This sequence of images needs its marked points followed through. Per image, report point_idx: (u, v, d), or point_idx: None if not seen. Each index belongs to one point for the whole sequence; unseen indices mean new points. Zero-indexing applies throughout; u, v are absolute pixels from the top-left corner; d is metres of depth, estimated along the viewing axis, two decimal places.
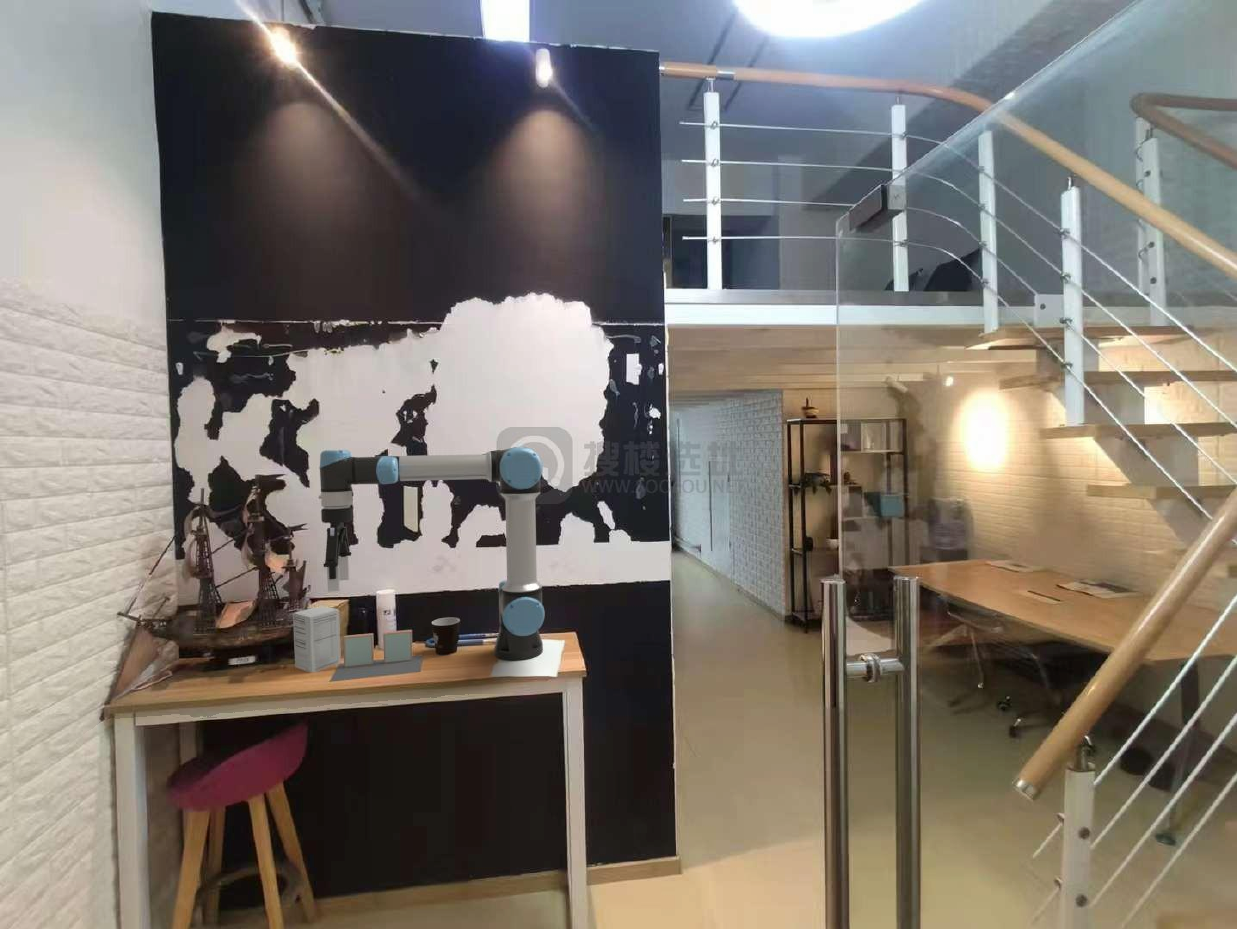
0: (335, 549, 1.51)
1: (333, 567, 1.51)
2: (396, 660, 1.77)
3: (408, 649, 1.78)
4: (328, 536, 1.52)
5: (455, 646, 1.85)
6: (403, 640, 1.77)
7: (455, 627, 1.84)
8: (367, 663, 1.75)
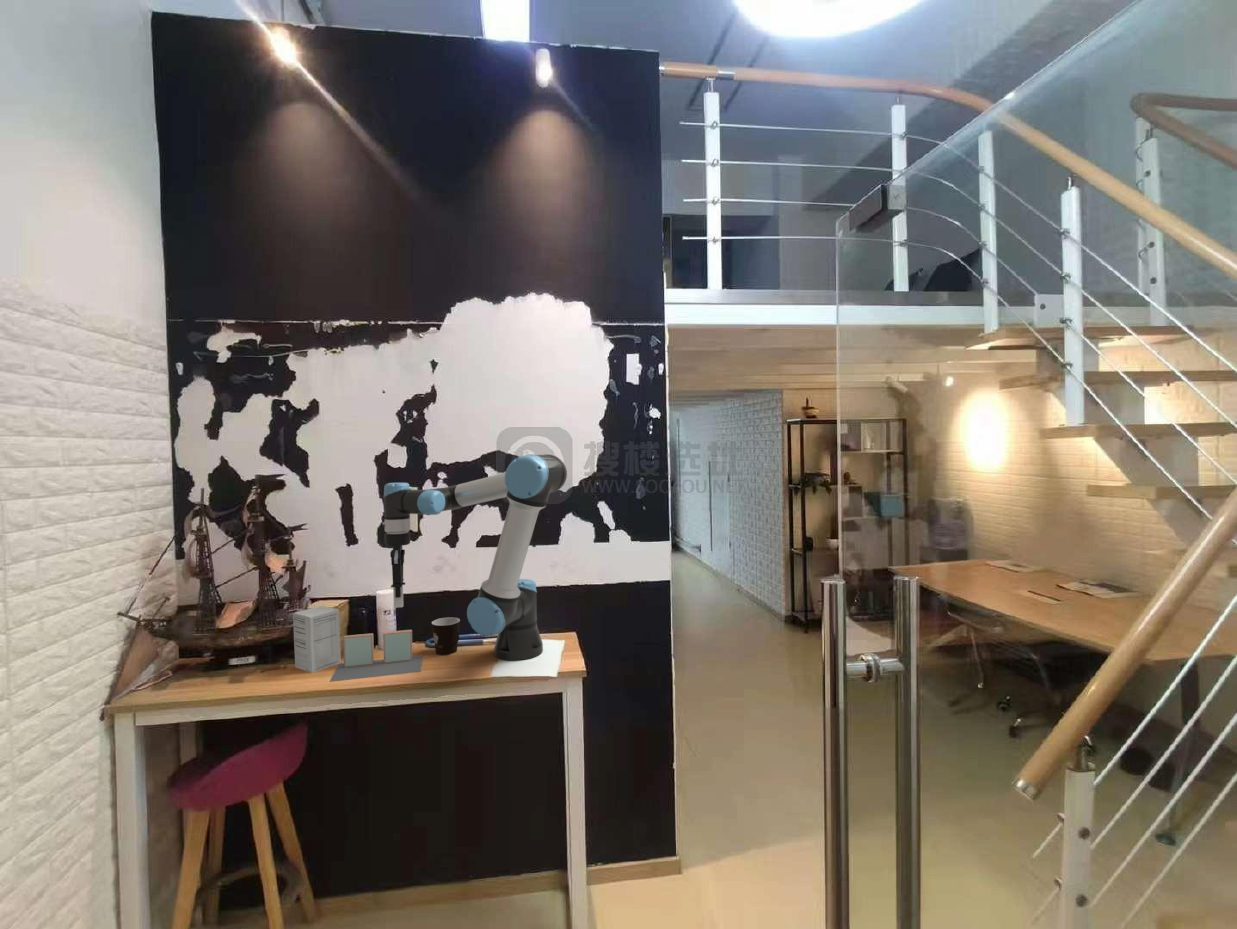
0: (400, 574, 1.80)
1: (398, 587, 1.82)
2: (396, 660, 1.77)
3: (408, 649, 1.78)
4: (392, 564, 1.78)
5: (455, 646, 1.85)
6: (403, 640, 1.77)
7: (455, 627, 1.84)
8: (367, 663, 1.75)
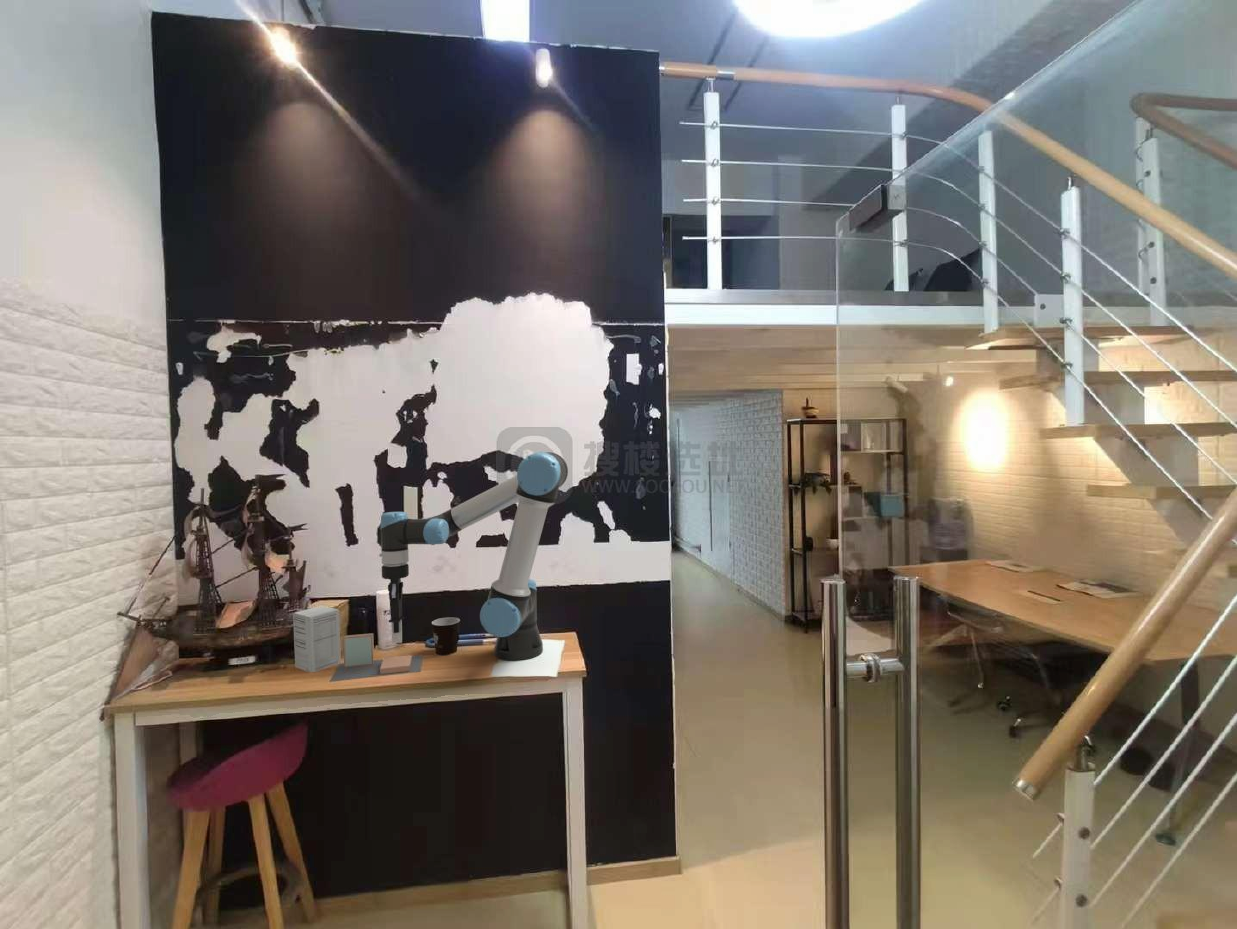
0: (398, 609, 1.71)
1: (397, 622, 1.73)
2: None
3: None
4: (390, 599, 1.70)
5: (455, 646, 1.85)
6: None
7: (455, 627, 1.84)
8: (367, 663, 1.75)
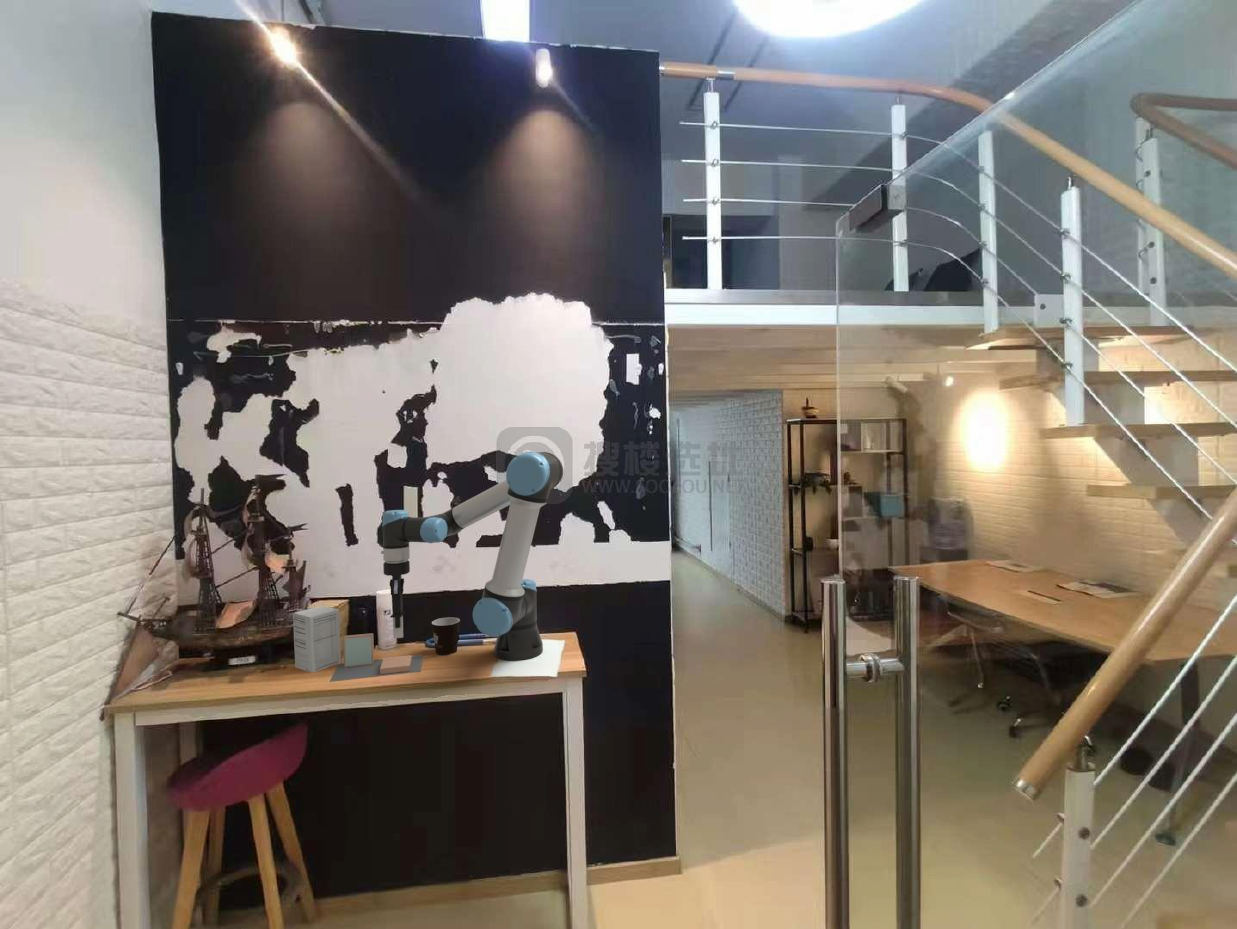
0: (399, 605, 1.76)
1: (398, 618, 1.78)
2: None
3: None
4: (392, 595, 1.74)
5: (455, 646, 1.85)
6: None
7: (455, 627, 1.84)
8: (367, 663, 1.75)
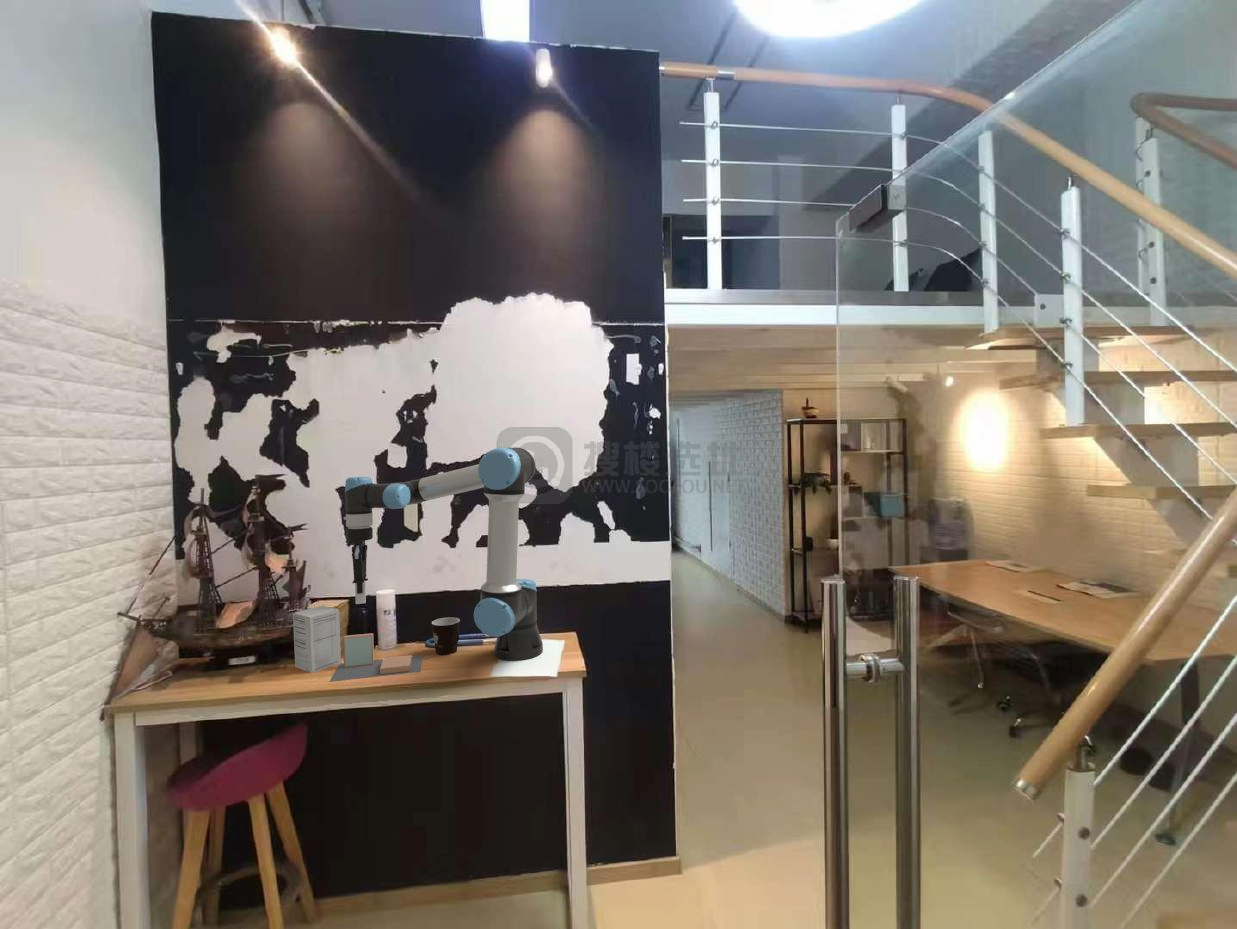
0: (361, 570, 1.77)
1: (360, 583, 1.79)
2: None
3: None
4: (353, 560, 1.75)
5: (455, 646, 1.85)
6: None
7: (455, 627, 1.84)
8: (367, 663, 1.75)
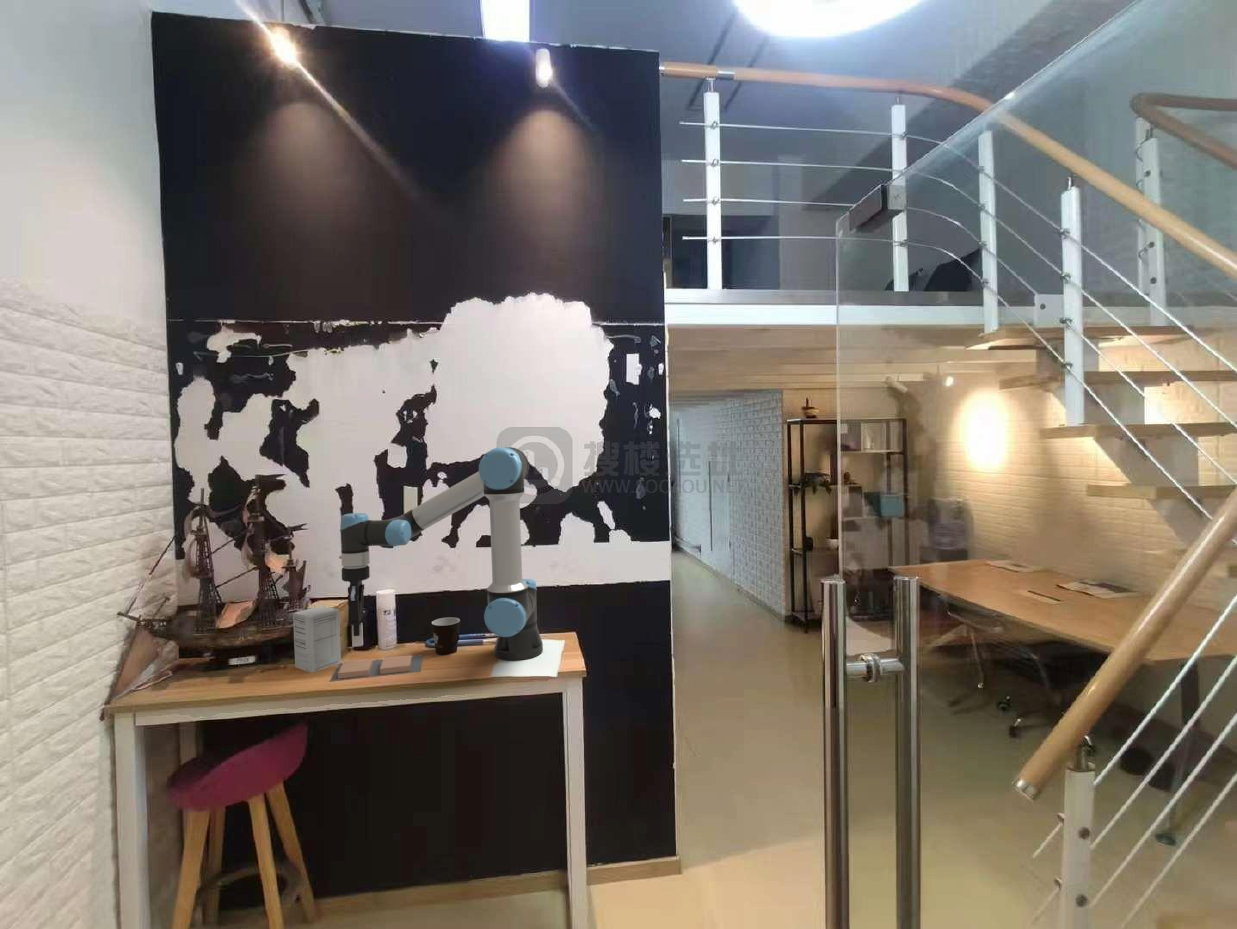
0: (357, 612, 1.69)
1: (357, 625, 1.71)
2: None
3: None
4: (349, 602, 1.67)
5: (455, 646, 1.85)
6: None
7: (455, 627, 1.84)
8: None
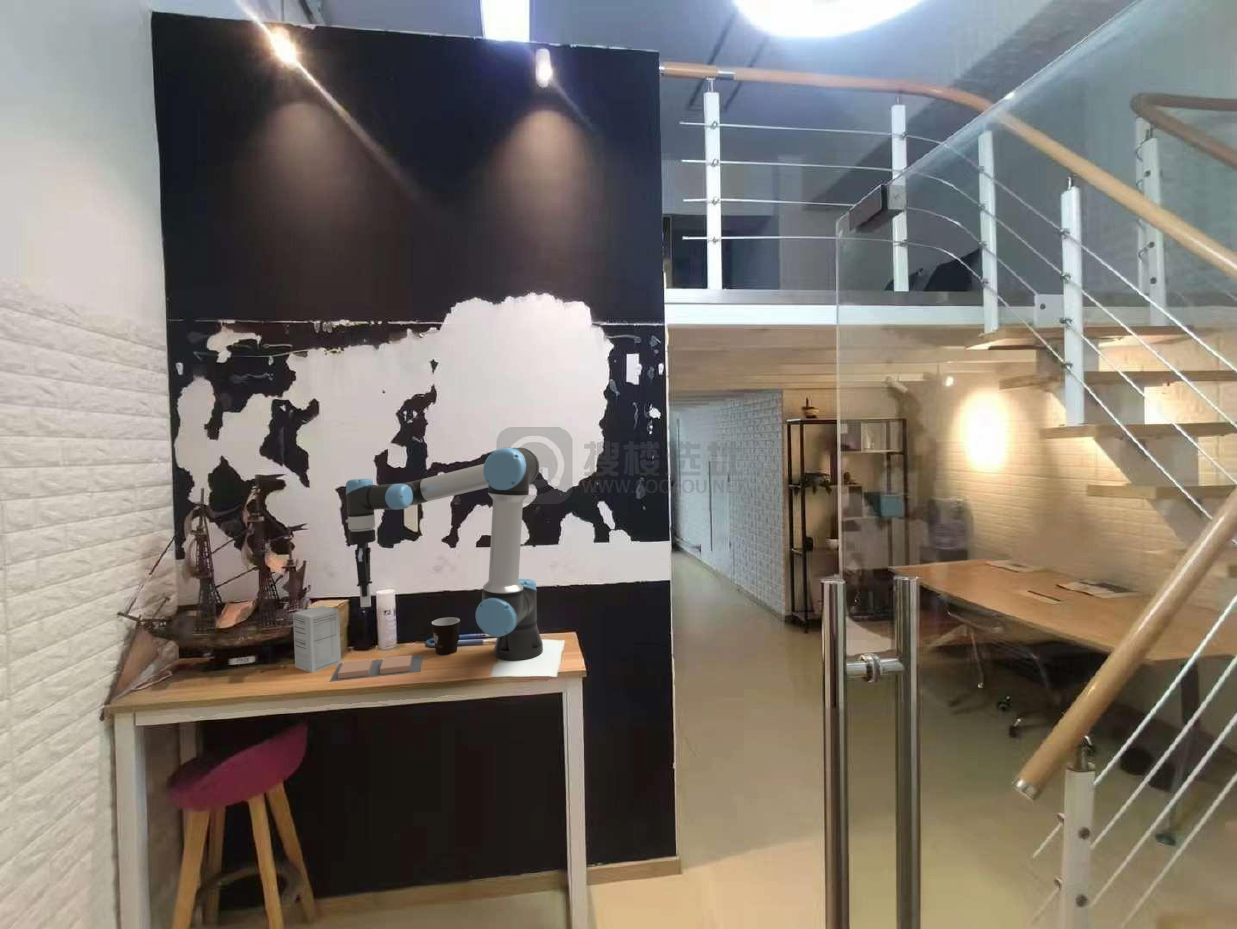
0: (365, 573, 1.75)
1: (365, 586, 1.77)
2: None
3: None
4: (357, 562, 1.74)
5: (455, 646, 1.85)
6: None
7: (455, 627, 1.84)
8: None
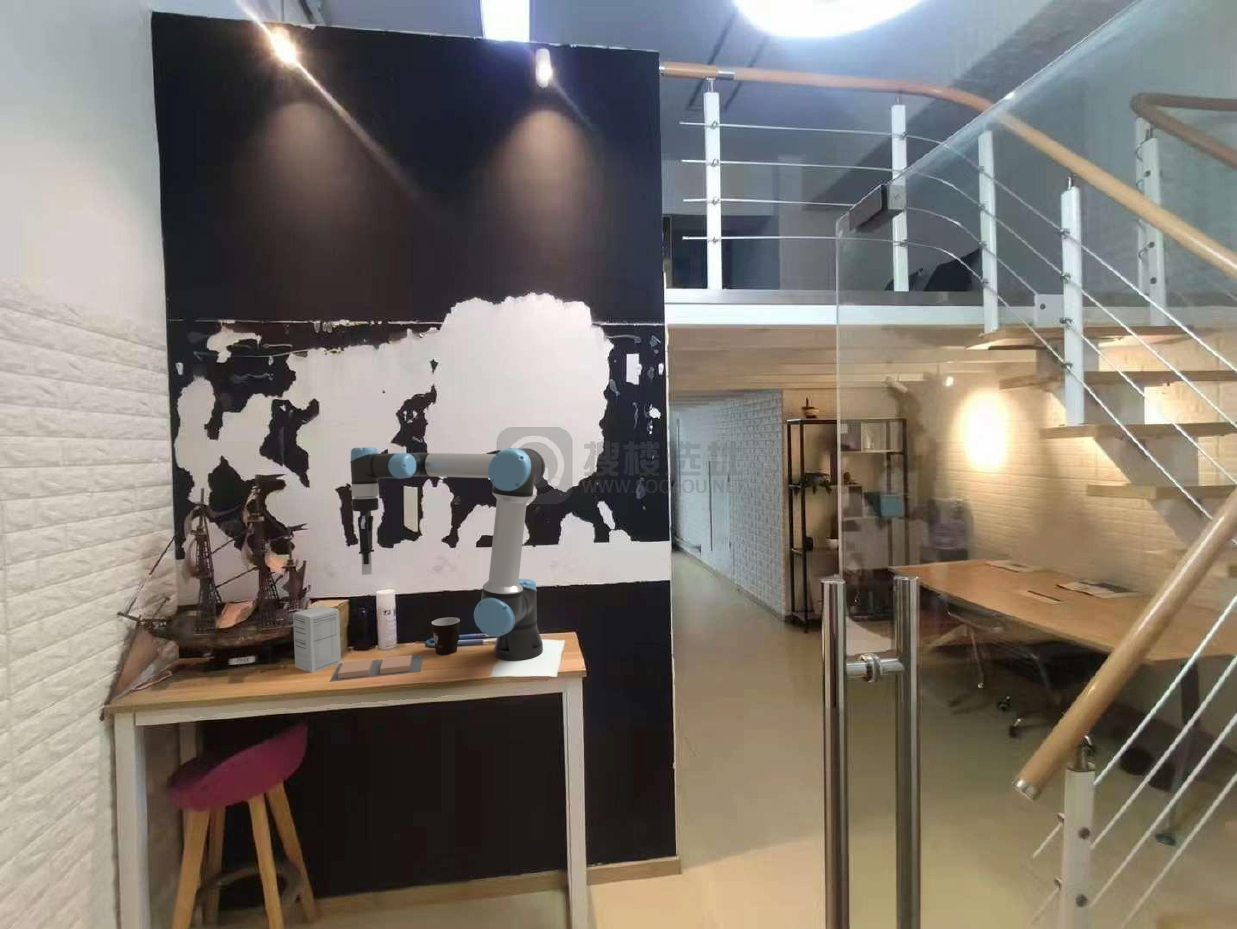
0: (367, 540, 1.76)
1: (367, 554, 1.79)
2: None
3: None
4: (359, 530, 1.75)
5: (455, 646, 1.85)
6: None
7: (455, 627, 1.84)
8: None
